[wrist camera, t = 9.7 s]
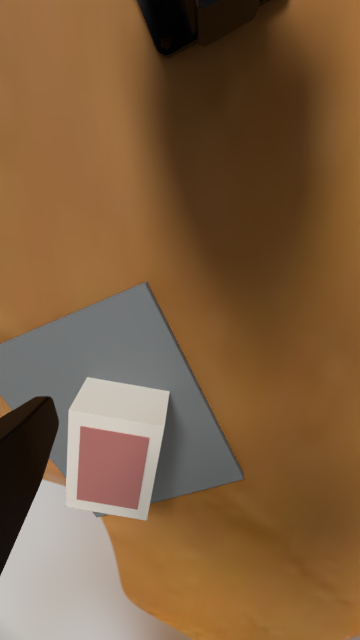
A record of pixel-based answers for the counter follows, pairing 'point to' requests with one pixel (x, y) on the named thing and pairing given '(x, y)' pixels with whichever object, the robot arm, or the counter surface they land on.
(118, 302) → the mat
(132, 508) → the card box
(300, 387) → the counter surface
